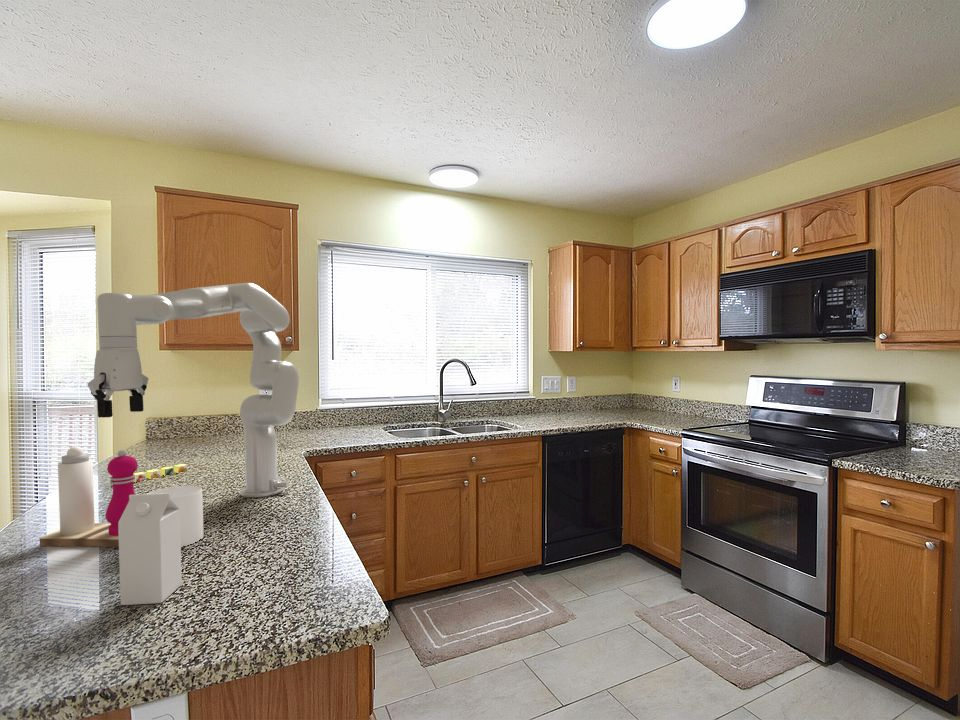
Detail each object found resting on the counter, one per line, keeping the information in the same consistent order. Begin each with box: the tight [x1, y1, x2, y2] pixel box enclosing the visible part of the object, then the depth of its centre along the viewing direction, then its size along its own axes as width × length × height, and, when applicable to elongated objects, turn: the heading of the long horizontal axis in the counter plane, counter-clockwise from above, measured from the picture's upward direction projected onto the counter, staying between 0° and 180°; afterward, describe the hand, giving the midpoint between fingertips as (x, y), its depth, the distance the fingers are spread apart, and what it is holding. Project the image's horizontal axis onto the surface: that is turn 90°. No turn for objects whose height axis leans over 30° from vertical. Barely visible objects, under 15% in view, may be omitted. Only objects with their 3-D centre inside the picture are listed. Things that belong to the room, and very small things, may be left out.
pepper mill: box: [105, 449, 138, 536], centre depth 121 cm, size 7×7×20 cm
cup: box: [147, 484, 204, 548], centre depth 120 cm, size 12×12×12 cm
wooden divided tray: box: [39, 522, 119, 548], centre depth 122 cm, size 22×10×2 cm, turn 86°
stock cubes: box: [134, 463, 188, 483], centre depth 181 cm, size 32×32×3 cm
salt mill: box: [57, 445, 96, 535], centre depth 122 cm, size 7×7×21 cm
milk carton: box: [118, 493, 183, 606], centre depth 93 cm, size 7×7×19 cm
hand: (121, 414), depth 121 cm, fingers open, 9 cm apart
